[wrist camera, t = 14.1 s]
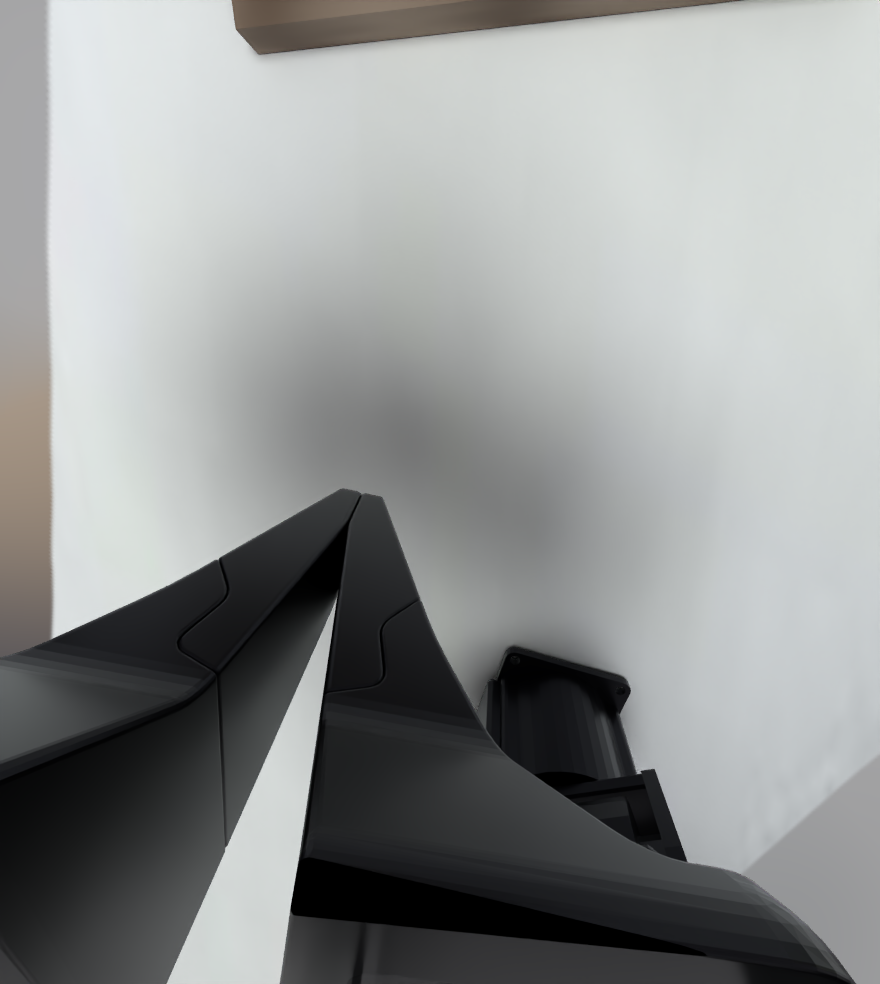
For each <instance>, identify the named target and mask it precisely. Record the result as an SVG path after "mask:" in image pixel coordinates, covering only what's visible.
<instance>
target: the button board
mask: <svg viewBox="0 0 880 984" xmlns="http://www.w3.org/2000/svg"><path fill="white" fill-rule="evenodd" d="M728 1H737V0H232V6H233V13H234V20H235V27H236V30H237V31H238V32H239V33H240V34H241V36H242V37H243V38H244V39H245V40H246V41H247V42H248V43H249V45H250V46H251V47H252V48H253V49H254V50H255V51H256V52H257V53H258V54H265V53H274V52H283V51H292V50H301V49H310V48H318V47H327V46H336V45H345V44H354V43H363V42H372V41H381V40H390V39H399V38H407V37H416V36H425V35H434V34H443V33H452V32H461V31H470V30H479V29H488V28H496V27H505V26H514V25H523V24H532V23H541V22H550V21H559V20H568V19H577V18H585V17H594V16H603V15H612V14H621V13H630V12H639V11H648V10H657V9H665V8H674V7H683V6H692V5H701V4H710V3H719V2H728Z"/></svg>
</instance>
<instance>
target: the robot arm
mask: <svg viewBox="0 0 880 984" xmlns="http://www.w3.org/2000/svg"><path fill="white" fill-rule="evenodd" d="M337 595H338V596H337ZM336 598H337V603H336V610H335V617H334V623H333V630H332V637H331V644H330V651H329V658H328V664H327V671H326V678H325V685H324V692H323V699H322V705H321V712H320V719H319V726H318V733H317V740H316V747H315V753H314V760H313V767H312V774H311V781H310V788H309V794H308V801H307V808H306V815H305V822H304V829H303V835H302V842H301V849H300V855H299V861H298V867H297V873H296V879H295V885H294V891H293V897H292V902H291V909H290V916H289V923H288V930H287V937H286V944H285V951H284V958H283V965H282V972H281V979H280V984H856V983H855V982H854V980H853V979H852V978H851V977H850V975H849V974H848V972H847V971H846V970H845V968H844V967H843V966H842V964H841V963H840V961H839V960H838V959H837V957H836V956H835V955H834V954H833V953H832V951H831V950H830V949H829V948H828V947H827V945H826V944H825V943H824V942H823V941H822V940H821V939H820V938H819V937H818V936H817V935H816V934H815V933H814V932H813V931H812V930H811V929H810V927H809V926H808V925H807V924H806V923H804V922H803V921H802V920H801V919H800V918H799V917H798V916H796V915H795V914H794V913H793V912H792V911H791V910H790V909H788V908H787V907H786V906H784V905H783V904H782V903H780V902H779V901H778V900H777V899H775V898H774V897H773V896H772V895H770V894H769V893H768V892H767V891H765V890H764V889H763V888H761V887H760V886H759V885H758V884H756V883H755V882H754V881H752V880H751V879H749V878H747V877H745V876H743V875H741V874H738V873H736V872H733V871H729V870H725V869H721V868H717V867H711V866H705V865H700V864H694V863H688V862H687V859H686V856H685V854H684V851H683V848H682V845H681V842H680V839H679V837H678V834H677V831H676V828H675V825H674V823H673V820H672V817H671V814H670V811H669V808H668V806H667V803H666V800H665V797H664V794H663V792H662V789H661V786H660V783H659V780H658V778H657V775H656V772H655V769H651V770H644V771H641V773H642V774H637V772H636V769H635V766H634V762H633V759H632V756H631V752H630V749H629V746H628V742H627V739H626V736H625V732H624V729H623V726H622V722H621V719H620V716H619V714H620V712H621V710H622V708H623V707H624V705H625V703H626V701H627V699H628V697H629V695H630V692H631V690H630V686H629V684H628V681H627V680H626V679H624V678H621V677H618V676H614V675H611V674H607V673H604V672H600V671H597V670H593V669H590V668H586V667H583V666H579V665H576V664H572V663H569V662H565V661H562V660H558V659H555V658H551V657H548V656H545V655H541V654H538V653H534V652H531V651H527V650H524V649H520V648H515V647H513V648H509V649H508V650H507V651H506V652H505V655H504V658H503V660H502V663H501V666H500V669H499V671H498V674H497V677H496V679H495V680H494V679H492V680H490V681H488V683H487V685H486V688H485V691H484V694H483V696H482V699H481V702H480V705H479V707H478V710H477V712H476V711H475V709H474V707H473V705H472V703H471V702H470V700H469V698H468V696H467V694H466V693H465V691H464V689H463V687H462V685H461V684H460V682H459V680H458V678H457V676H456V674H455V673H454V671H453V669H452V667H451V665H450V664H449V662H448V660H447V658H446V656H445V654H444V652H443V650H442V648H441V646H440V644H439V642H438V640H437V638H436V636H435V634H434V631H433V629H432V627H431V624H430V622H429V620H428V617H427V615H426V612H425V609H424V606H423V604H422V602H421V601H420V596H419V594H418V591H417V588H416V586H415V583H414V580H413V577H412V575H411V572H410V569H409V567H408V564H407V561H406V559H405V556H404V553H403V551H402V548H401V545H400V543H399V540H398V537H397V534H396V532H395V529H394V526H393V524H392V521H391V518H390V516H389V513H388V510H387V508H386V505H385V502H384V500H383V498H382V497H380V496H376V495H371V494H366V493H365V494H363V495H361V493H360V492H357V491H353V490H348V489H340V490H338V491H336V492H334V493H333V494H331V495H329V496H327V497H326V498H324V499H322V500H320V501H318V502H317V503H315V504H313V505H311V506H310V507H308V508H306V509H304V510H303V511H301V512H299V513H297V514H296V515H294V516H292V517H290V518H289V519H287V520H285V521H283V522H281V523H280V524H278V525H276V526H274V527H273V528H271V529H269V530H267V531H266V532H264V533H262V534H260V535H259V536H257V537H255V538H253V539H252V540H250V541H248V542H246V543H245V544H243V545H241V546H239V547H237V548H236V549H234V550H232V551H230V552H229V553H227V554H225V555H223V556H222V557H220V558H219V561H218V560H214V561H213V562H211V563H209V564H207V565H205V566H204V567H202V568H200V569H198V570H197V571H195V572H193V573H191V574H189V575H187V576H185V577H183V578H182V579H180V580H178V581H176V582H174V583H172V584H170V585H168V586H166V587H164V588H162V589H160V590H158V591H156V592H154V593H152V594H149V595H147V596H145V597H143V598H141V599H139V600H137V601H135V602H133V603H130V604H128V605H126V606H124V607H122V608H119V609H117V610H115V611H113V612H111V613H108V614H106V615H104V616H102V617H100V618H97V619H95V620H93V621H91V622H88V623H86V624H84V625H82V626H80V627H77V628H75V629H73V630H71V631H69V632H66V633H64V634H62V635H60V636H58V637H55V638H53V639H51V640H49V641H47V642H44V643H42V644H39V645H37V646H35V647H32V648H30V649H27V650H24V651H21V652H18V653H15V654H12V655H8V656H4V657H0V984H166V983H167V981H168V979H169V977H170V974H171V972H172V970H173V968H174V965H175V963H176V961H177V959H178V956H179V954H180V952H181V950H182V947H183V945H184V943H185V940H186V938H187V936H188V934H189V931H190V929H191V927H192V925H193V922H194V920H195V918H196V916H197V913H198V911H199V909H200V907H201V904H202V902H203V900H204V898H205V895H206V893H207V891H208V889H209V886H210V884H211V882H212V880H213V877H214V875H215V873H216V871H217V868H218V866H219V864H220V861H221V859H222V857H223V855H224V852H225V847H226V846H227V845H228V843H229V841H230V839H231V836H232V834H233V832H234V829H235V827H236V825H237V823H238V820H239V818H240V816H241V814H242V811H243V809H244V807H245V805H246V802H247V800H248V798H249V796H250V793H251V791H252V789H253V787H254V784H255V782H256V780H257V777H258V775H259V773H260V771H261V768H262V766H263V764H264V762H265V759H266V757H267V755H268V753H269V750H270V748H271V746H272V744H273V741H274V739H275V737H276V735H277V732H278V730H279V728H280V725H281V723H282V721H283V719H284V716H285V714H286V712H287V710H288V707H289V705H290V703H291V701H292V698H293V696H294V694H295V692H296V689H297V687H298V685H299V683H300V680H301V678H302V676H303V673H304V671H305V669H306V667H307V664H308V662H309V660H310V658H311V655H312V653H313V651H314V649H315V646H316V644H317V642H318V640H319V637H320V635H321V633H322V631H323V628H324V626H325V624H326V621H327V619H328V617H329V615H330V612H331V610H332V608H333V605H334V603H335V600H336ZM514 656H515V657H518V659H512V658H511V657H514ZM618 687H623V688H621V689H616V688H618Z"/></svg>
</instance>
